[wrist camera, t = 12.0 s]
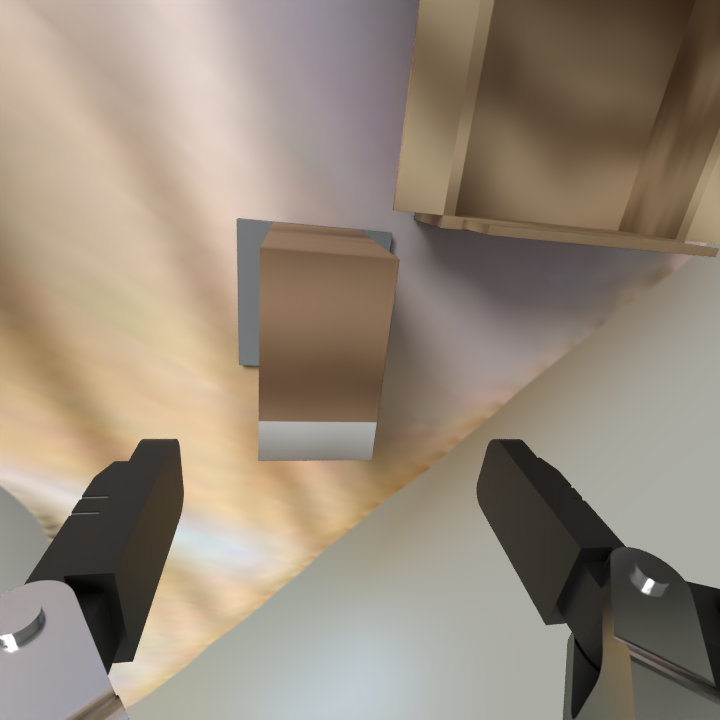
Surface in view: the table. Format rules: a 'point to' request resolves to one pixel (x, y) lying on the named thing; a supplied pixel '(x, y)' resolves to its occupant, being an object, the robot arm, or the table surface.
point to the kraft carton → (566, 121)
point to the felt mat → (249, 281)
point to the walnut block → (322, 341)
